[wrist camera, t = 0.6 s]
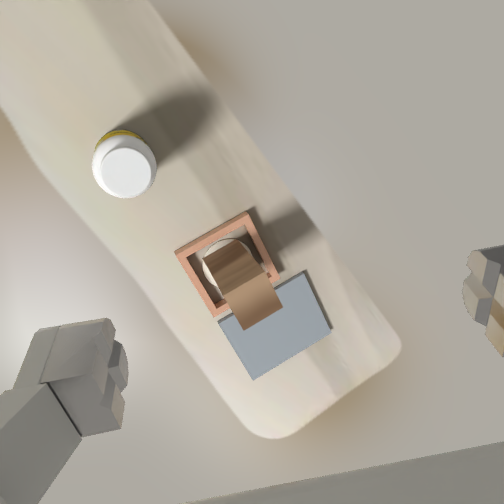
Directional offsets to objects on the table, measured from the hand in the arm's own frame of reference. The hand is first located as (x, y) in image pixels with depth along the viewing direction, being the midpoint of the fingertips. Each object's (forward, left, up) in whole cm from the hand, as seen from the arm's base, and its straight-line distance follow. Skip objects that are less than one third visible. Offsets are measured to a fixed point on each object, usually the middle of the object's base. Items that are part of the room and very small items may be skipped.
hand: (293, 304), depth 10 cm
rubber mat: (+28, +2, -38) cm, 47 cm away
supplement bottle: (+1, -3, -38) cm, 39 cm away
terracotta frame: (+17, +1, -38) cm, 42 cm away
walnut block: (+17, +1, -38) cm, 41 cm away
